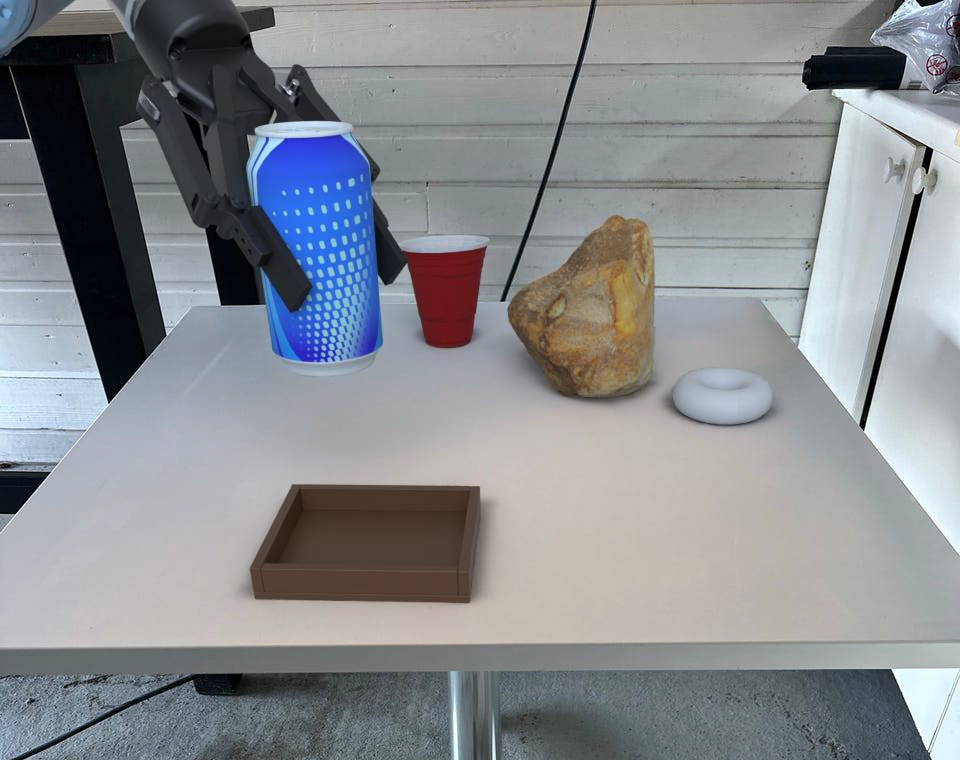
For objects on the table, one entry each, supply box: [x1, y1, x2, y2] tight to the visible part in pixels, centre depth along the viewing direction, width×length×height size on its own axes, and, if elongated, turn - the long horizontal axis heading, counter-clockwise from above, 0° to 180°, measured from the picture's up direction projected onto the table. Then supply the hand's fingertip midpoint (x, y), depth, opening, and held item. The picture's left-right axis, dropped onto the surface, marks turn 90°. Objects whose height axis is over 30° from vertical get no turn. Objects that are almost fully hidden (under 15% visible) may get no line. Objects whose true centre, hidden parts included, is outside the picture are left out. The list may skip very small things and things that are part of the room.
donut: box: [671, 366, 774, 426], centre depth 93 cm, size 10×3×10 cm
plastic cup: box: [397, 234, 491, 349], centre depth 111 cm, size 11×11×12 cm
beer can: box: [245, 121, 384, 378], centre depth 67 cm, size 8×8×16 cm
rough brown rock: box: [506, 214, 656, 399], centre depth 101 cm, size 23×17×15 cm
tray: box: [249, 483, 482, 604], centre depth 71 cm, size 16×14×3 cm
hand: (350, 285), depth 66 cm, fingers closed on beer can, 8 cm apart
